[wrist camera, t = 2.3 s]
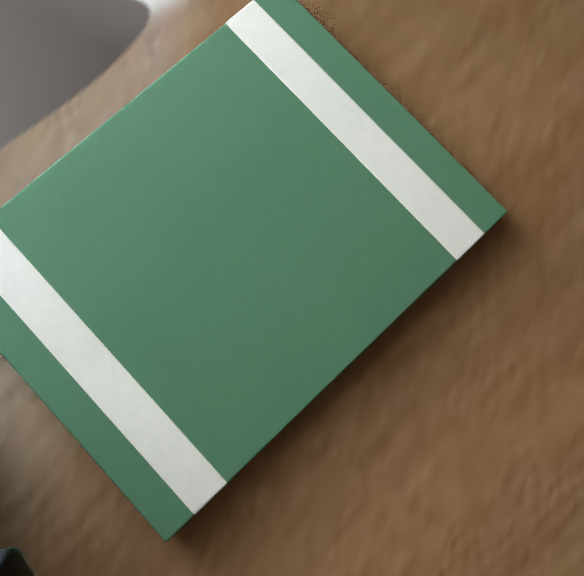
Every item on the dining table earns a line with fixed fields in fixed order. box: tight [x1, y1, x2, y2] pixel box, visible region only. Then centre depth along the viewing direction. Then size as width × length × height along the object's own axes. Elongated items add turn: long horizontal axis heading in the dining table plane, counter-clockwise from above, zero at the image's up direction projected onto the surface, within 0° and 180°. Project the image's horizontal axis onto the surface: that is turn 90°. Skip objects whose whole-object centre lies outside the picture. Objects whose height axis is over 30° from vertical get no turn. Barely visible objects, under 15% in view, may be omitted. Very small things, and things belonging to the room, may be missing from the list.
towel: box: [0, 0, 507, 542], centre depth 22 cm, size 20×15×1 cm
